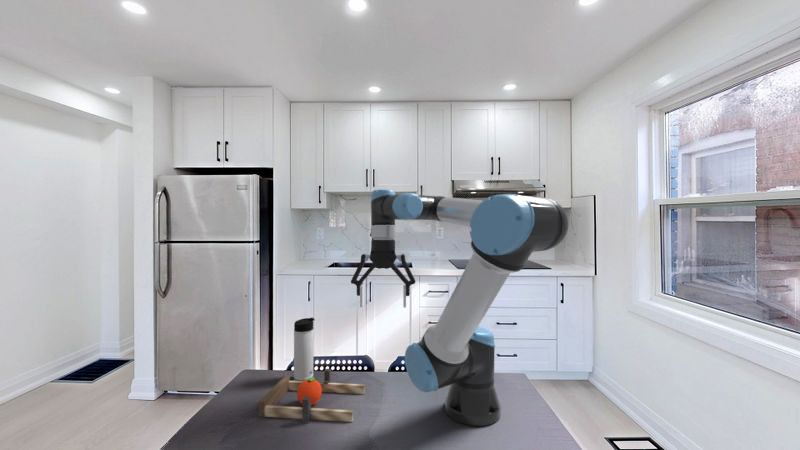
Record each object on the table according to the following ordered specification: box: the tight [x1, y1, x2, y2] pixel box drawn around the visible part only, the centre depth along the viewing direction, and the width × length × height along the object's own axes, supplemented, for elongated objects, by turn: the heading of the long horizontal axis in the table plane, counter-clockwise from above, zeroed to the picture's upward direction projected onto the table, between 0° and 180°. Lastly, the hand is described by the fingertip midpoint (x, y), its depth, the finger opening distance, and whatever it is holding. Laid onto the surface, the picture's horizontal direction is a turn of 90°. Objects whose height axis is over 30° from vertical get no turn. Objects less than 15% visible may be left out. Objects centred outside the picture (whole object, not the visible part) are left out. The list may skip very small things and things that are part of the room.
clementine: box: [296, 377, 323, 406], centre depth 100 cm, size 8×7×7 cm
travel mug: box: [293, 317, 315, 381], centre depth 116 cm, size 6×7×20 cm
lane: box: [258, 368, 366, 424], centre depth 100 cm, size 26×20×6 cm
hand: (383, 306), depth 109 cm, fingers open, 13 cm apart
